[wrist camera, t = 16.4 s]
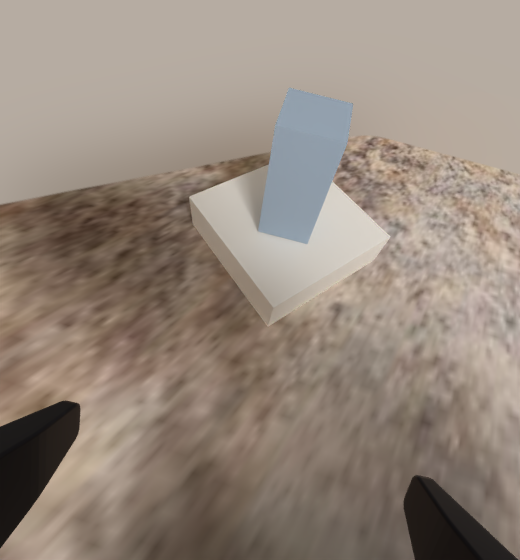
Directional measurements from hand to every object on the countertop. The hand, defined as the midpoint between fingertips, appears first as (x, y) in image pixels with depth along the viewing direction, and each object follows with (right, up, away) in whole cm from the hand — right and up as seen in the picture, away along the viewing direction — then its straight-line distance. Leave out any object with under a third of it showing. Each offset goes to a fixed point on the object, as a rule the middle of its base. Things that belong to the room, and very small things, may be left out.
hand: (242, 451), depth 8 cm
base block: (+2, +8, +21) cm, 23 cm away
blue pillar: (+3, +10, +17) cm, 20 cm away
